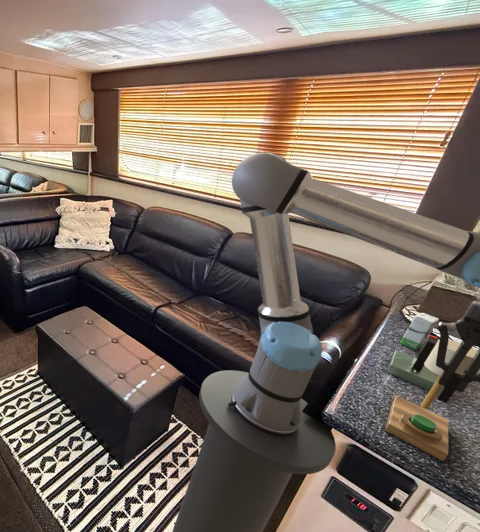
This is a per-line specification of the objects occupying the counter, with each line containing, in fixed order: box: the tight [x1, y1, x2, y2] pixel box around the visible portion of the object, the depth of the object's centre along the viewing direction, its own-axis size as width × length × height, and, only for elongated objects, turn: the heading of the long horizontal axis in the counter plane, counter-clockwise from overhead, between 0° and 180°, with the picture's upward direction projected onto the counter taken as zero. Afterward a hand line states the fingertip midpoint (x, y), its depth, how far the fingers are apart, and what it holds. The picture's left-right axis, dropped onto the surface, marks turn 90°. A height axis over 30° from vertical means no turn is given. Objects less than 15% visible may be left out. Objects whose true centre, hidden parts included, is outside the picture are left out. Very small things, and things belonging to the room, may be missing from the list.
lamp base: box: [384, 395, 449, 462], centre depth 78 cm, size 16×10×4 cm, turn 131°
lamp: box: [420, 338, 480, 410], centre depth 78 cm, size 8×8×18 cm
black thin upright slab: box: [412, 334, 439, 371], centre depth 98 cm, size 6×2×10 cm, turn 131°
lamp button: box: [410, 414, 437, 434], centre depth 75 cm, size 4×4×2 cm
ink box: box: [399, 312, 440, 351], centre depth 117 cm, size 9×5×12 cm, turn 120°
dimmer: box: [386, 349, 439, 392], centre depth 101 cm, size 14×11×3 cm
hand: (441, 398), depth 72 cm, fingers closed
